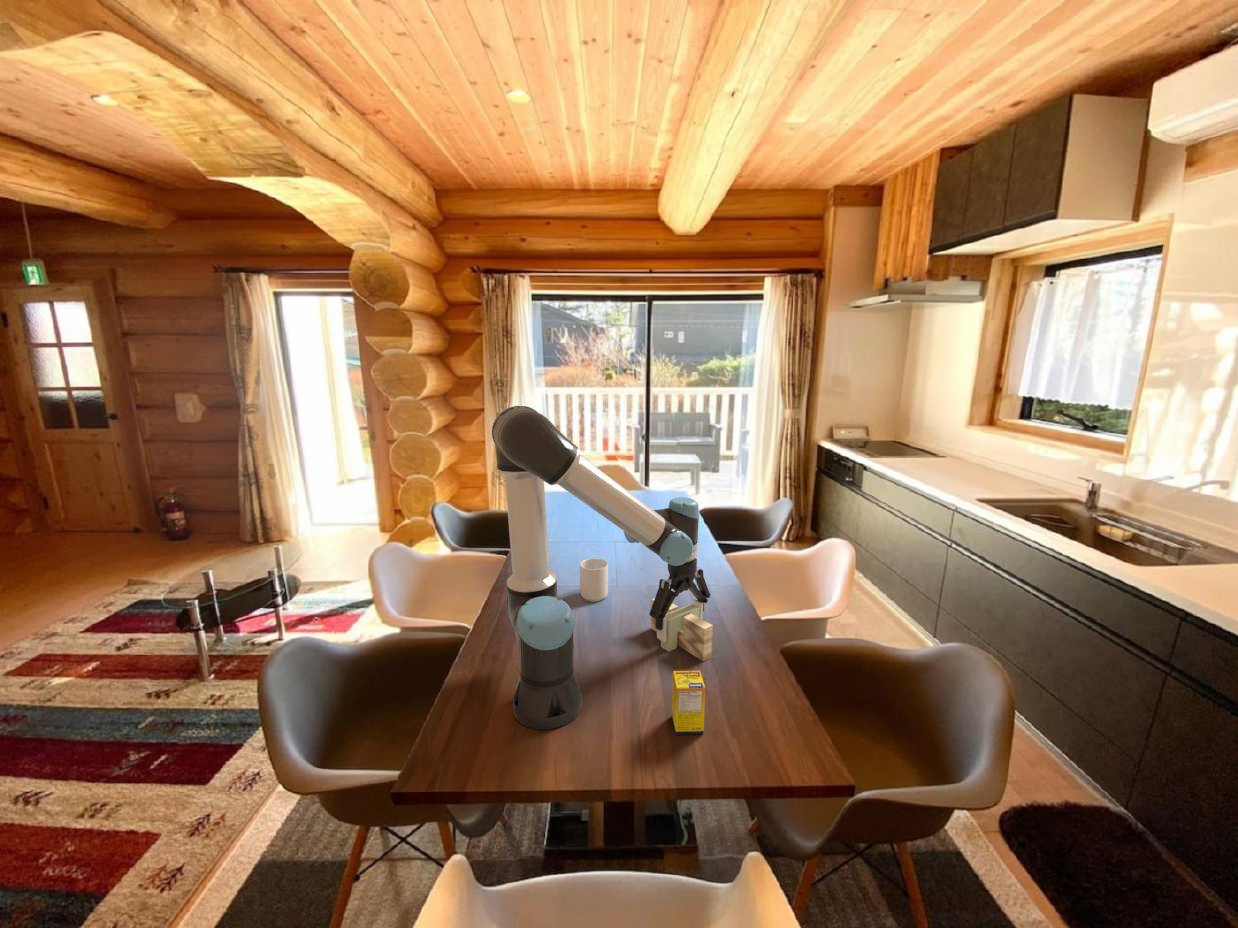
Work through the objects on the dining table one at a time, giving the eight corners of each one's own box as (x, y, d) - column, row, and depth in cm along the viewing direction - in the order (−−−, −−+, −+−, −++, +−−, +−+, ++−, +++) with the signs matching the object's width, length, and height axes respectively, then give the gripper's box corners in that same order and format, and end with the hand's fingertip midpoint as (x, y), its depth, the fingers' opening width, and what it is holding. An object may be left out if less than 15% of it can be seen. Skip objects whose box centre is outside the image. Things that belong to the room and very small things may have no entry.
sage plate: (668, 651, 135) (669, 620, 133) (660, 646, 137) (661, 615, 135) (698, 637, 142) (699, 607, 140) (690, 633, 144) (691, 603, 142)
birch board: (711, 657, 133) (712, 625, 131) (703, 661, 131) (704, 629, 129) (658, 625, 148) (659, 596, 146) (651, 628, 146) (651, 599, 144)
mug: (605, 603, 161) (605, 570, 158) (577, 601, 162) (577, 568, 159) (611, 586, 172) (611, 555, 170) (585, 585, 173) (584, 554, 171)
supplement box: (698, 714, 112) (700, 669, 109) (704, 734, 106) (706, 687, 103) (671, 715, 111) (672, 669, 109) (675, 735, 106) (676, 687, 103)
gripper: (656, 574, 124) (654, 653, 128) (725, 550, 139) (721, 622, 143) (636, 564, 130) (635, 640, 134) (704, 542, 145) (702, 611, 149)
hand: (680, 631), depth 139 cm, fingers open, 13 cm apart
